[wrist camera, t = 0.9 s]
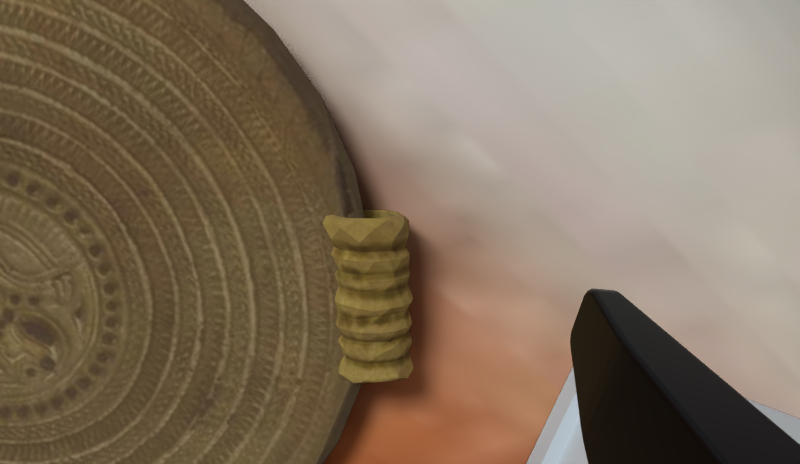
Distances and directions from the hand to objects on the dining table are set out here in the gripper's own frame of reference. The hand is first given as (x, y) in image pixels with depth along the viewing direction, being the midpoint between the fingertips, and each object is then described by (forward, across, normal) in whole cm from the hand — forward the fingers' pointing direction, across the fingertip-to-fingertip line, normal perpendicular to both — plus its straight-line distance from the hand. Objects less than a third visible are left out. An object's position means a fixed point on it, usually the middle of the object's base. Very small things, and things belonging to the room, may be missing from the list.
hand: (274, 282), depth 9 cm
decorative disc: (+13, +12, +12) cm, 21 cm away
